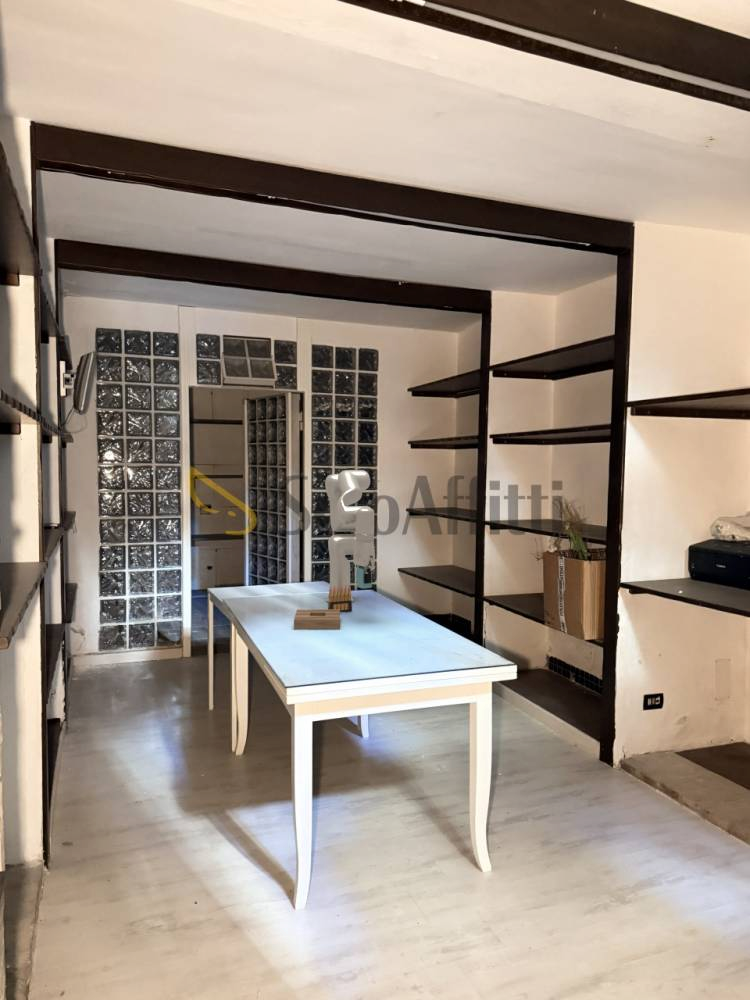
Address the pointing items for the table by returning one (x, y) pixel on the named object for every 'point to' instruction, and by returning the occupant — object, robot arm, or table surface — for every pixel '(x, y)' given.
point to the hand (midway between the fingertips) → (364, 581)
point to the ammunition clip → (340, 599)
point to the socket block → (317, 619)
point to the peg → (362, 578)
